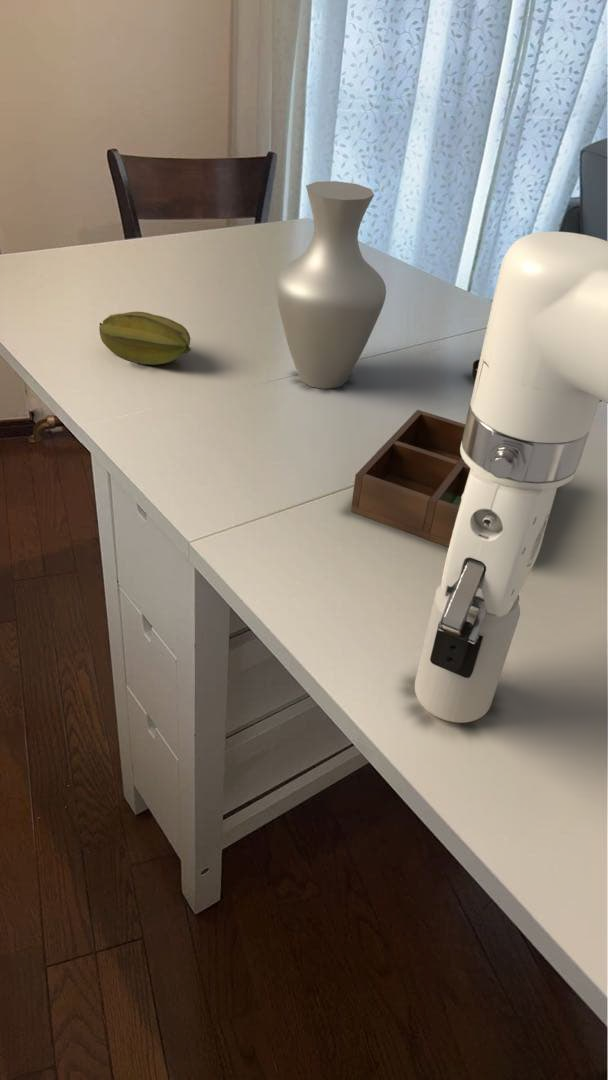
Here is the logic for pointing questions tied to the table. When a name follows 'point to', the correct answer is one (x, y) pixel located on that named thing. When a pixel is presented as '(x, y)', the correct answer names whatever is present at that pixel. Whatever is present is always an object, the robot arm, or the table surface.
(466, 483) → the robot arm
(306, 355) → the vase
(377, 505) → the tray
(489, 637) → the beverage can
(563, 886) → the table surface
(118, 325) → the fruit
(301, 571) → the table surface
